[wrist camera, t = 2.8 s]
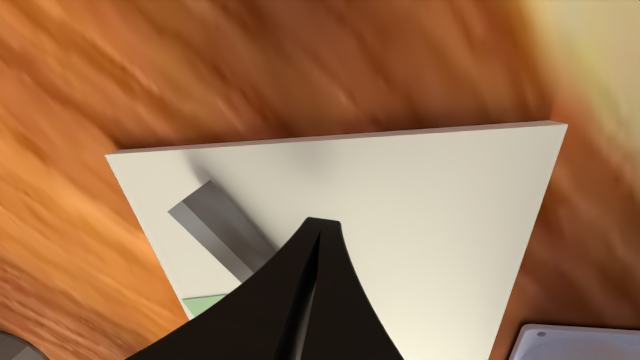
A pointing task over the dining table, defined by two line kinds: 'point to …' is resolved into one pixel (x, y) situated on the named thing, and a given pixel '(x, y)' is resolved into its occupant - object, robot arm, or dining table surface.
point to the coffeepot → (18, 349)
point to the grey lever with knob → (226, 235)
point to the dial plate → (369, 218)
